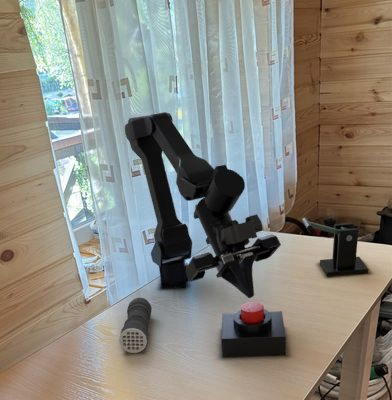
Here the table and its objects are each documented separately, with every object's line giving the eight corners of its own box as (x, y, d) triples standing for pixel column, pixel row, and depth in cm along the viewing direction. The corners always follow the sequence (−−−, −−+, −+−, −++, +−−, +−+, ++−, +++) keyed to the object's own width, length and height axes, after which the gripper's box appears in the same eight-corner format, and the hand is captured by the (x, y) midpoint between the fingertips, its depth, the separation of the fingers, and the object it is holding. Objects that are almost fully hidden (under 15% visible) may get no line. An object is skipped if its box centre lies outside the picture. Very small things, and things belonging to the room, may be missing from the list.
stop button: (241, 324, 98) (240, 312, 96) (241, 313, 102) (240, 301, 100) (264, 323, 97) (264, 311, 96) (263, 312, 101) (263, 300, 100)
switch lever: (305, 232, 120) (309, 222, 119) (300, 223, 125) (304, 214, 124) (352, 244, 122) (356, 235, 121) (345, 235, 127) (349, 226, 126)
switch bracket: (326, 277, 125) (329, 234, 119) (319, 264, 132) (321, 223, 126) (368, 273, 125) (372, 230, 119) (358, 260, 132) (362, 219, 126)
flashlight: (130, 317, 116) (126, 295, 113) (153, 315, 116) (150, 293, 113) (121, 353, 103) (117, 330, 100) (148, 351, 103) (144, 328, 100)
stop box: (222, 357, 99) (220, 330, 96) (223, 331, 107) (222, 305, 104) (285, 355, 98) (285, 328, 94) (281, 329, 106) (281, 303, 103)
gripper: (186, 214, 89) (223, 294, 86) (275, 192, 96) (311, 265, 93) (171, 244, 99) (203, 317, 96) (252, 223, 106) (284, 289, 103)
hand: (251, 296), depth 97 cm, fingers closed
